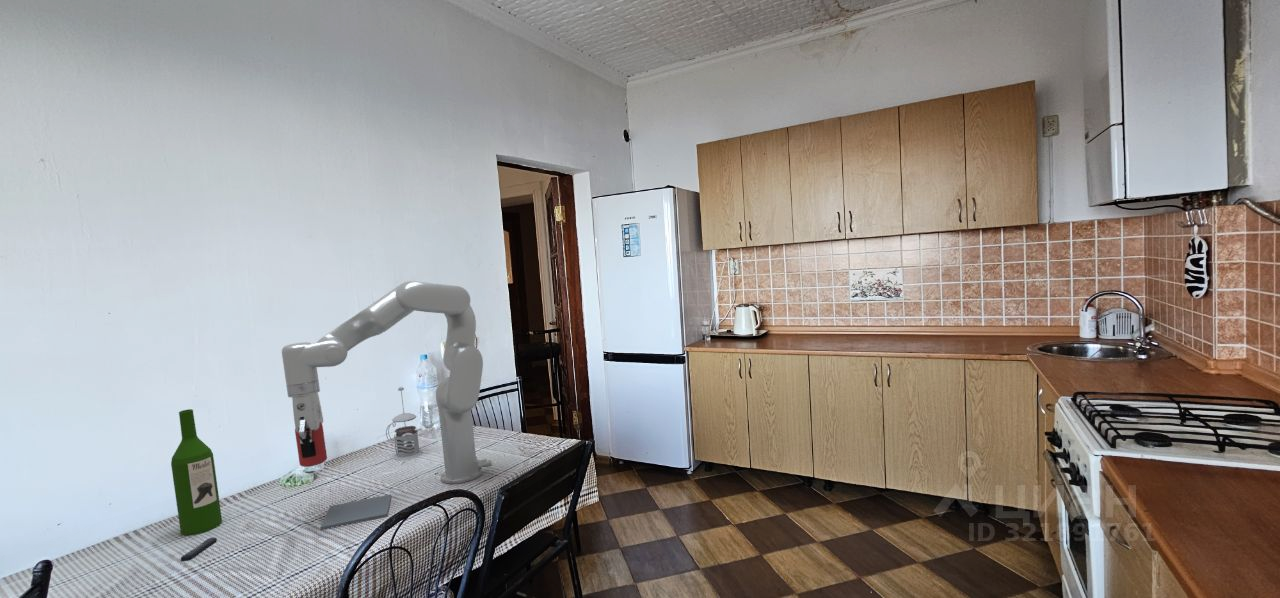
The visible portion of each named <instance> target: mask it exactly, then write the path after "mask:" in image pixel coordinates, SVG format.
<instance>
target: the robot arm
mask: <svg viewBox="0 0 1280 598" xmlns="http://www.w3.org/2000/svg"><path fill="white" fill-rule="evenodd" d="M415 311H416V312H424V313H435V314H444V317H445V318H446V323H447V328H446V329H447V331H446V339H445V345H444V346H445V347H444V351H443V357H442V358H443V359H442V361H443V365H444V366H445V368H446V369H447V370H449V376H447V377H445V378H443V379H441V381H440V382H439V383H438V385H437V386H436V390H435V399H436V404H437V405H436V406H437V410H438V415H439V423H440V435H441V445H442V456H443V462H444V464H443V465H444V471H443V472H442V473H441V474H440V481H441V482H442V483H445V484H462V483H467V482H469V481H473V480H475V479H477V478H479V477H480V476H481V475H482V474H483V468H485V467H486V468H487V467H492V466H493V465H492V459H489V460H488V459H487V458H484V459H478V457H477V455H476V444H475V435H474V433H475V432H474V425H473V424H474V422H473V416H472V409H473V408H474V407H475V406H476V405H477V403H478V400H479V397H480V396H479V395H480V390H481V385H482V384H481V383H482V376H483V370H484V369H483V368H484V359H483V355H482V353H481V351H480V350H479V349H478V348H477V347H475V343H476V342H475V341H476V329H477V320H476V315H475V312H474V310H473V308H472V306H471V296H470V293H469V292H468V291H467V290H466V288H464V287H461V286H459V285H452V284H439V283H430V282H424V281H416V280H413V281H412V280H409V281H405V282H402V283H400V284H399V285H397V286H396V287H395V288H393V289H391V290H390V291H389V292H387V293H385V294H384V295H382V296H381V297H380V298H379V299H377V300H375V301H374V302H373V303H371V304H370V305H368V306H367V307H366V308H364V309H362V310H361V311H359V312H358V313H356V314H355V315H354V316H352V317H351V318H349V319H347V320H346V321H344V322H343V323H341V324H339V325H338V326H337V327H335V328H333V329H332V330H331V331H329V332H328V333H326V334H325V335H324V336H322V337H321V338H320V339H318V340H317V341H316V342H313V343H311V342H306V341H305V342H296V343H289V344H287V345H285V346H283V348H281V357H282V363H283V371H284V379H285V385H286V391H287V397H288V398H292V399H291V400H292V411H293V412H292V413H293V421H294V426H295V428H296V432H297V433H299V435H300V445H301V452H302V457H303V458H307V457H313V456H315V455H316V449H315V442H314V441H313V431H312V430H314V431H316V430H317V429H318V428H319V424H320V422H321V423H322V424H324V417H323V411H322V410H323V409H322V406H321V400H320V396H319V392H321V387H320V383H319V382H320V381H319V374H318V368H329V367H330V368H331V367H336V366H339V365H341V364H342V363H344V362H345V361H346V359H347V357H348V354H349V353H348V352H349V351H351V349H353V348H355V347H356V346H357V345H359V344H360V343H362V342H364V341H365V340H368V339H371V338H372V337H376V336H379V335H382V334H383V333H385V332H387V331H388V330H389V329H391V328H392V327H394V326H395V325H396V324H397V323H399V322H400V321H402V320H403V319H405V318H406V317H407V316H409V315H410V314H412V313H413V312H415ZM299 427H300V428H299ZM295 428H294V429H295ZM306 428H310V430H308V431H306ZM298 429H299V430H298ZM307 433H309V435H308V434H307Z"/></svg>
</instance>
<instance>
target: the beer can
mask: <svg viewBox="0 0 1280 598" xmlns="http://www.w3.org/2000/svg"><path fill="white" fill-rule="evenodd" d="M299 428H300V427H299ZM298 430H299V429H298ZM308 430H310V428H306V431H308ZM294 431H295V432H294V433H295V440H296V442H295V443H296V446H297V454H298V461H299V462H298V463H299V466H301V467H304V468H305V467H306V468H310V467H315V466H318V465H321V464H323V463H324V462H326V460H327V459H328V456H327V455H328V454H327V448H326V440H325V433H324V426H323V423H321V422H320V424H319V428H318V429H317V430H316V431H314V430H312V431H313V441H314V442H315V449H316V455H315V456H313V457H307V458H303V457H302V452H301V445H300V435H299V433H297V432H296V428H294ZM307 434H308V435H309V433H307Z"/></svg>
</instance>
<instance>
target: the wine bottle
mask: <svg viewBox="0 0 1280 598" xmlns="http://www.w3.org/2000/svg"><path fill="white" fill-rule="evenodd" d="M178 416H179V422H180V423H179V425H180V434H181V441H180V443H179V444H178V446H177V448H176V450H175V452H174V454H173V455H172V457H171V461H170V462H171V463H170V465H171V472H172V473H171V474H172V479H173V487H174V495H175V499H176V500H175V501H176V508H177V516H178V523H179V531H180V533H181V534H182V535H184V536H193V535H199V534H203V533H205V532H209V531H211V530H213V529H216V528H217V527H219V526H220V525H221V524H222V522H223V519H222V512H221V511H222V510H221V503H220V495H219V489H218V482H217V481H218V480H217V474H216V466H215V458H214V453H213V451H212V449H211V448H210V446H208V445H207V444H205V443H204V442H203V441H202V440H201V439H200V438H199V437H198V435H197V428H196V422H195V416H194V409H190V408H188V409H183V410H180V411H179V412H178Z"/></svg>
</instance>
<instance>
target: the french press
mask: <svg viewBox="0 0 1280 598" xmlns="http://www.w3.org/2000/svg"><path fill="white" fill-rule="evenodd" d="M404 390H405V388H404V386H400V387H398V389H397V391H398V392H399V391H400V394H401V397H403V393H402V392H403V391H404ZM401 403H402V406H404V400H403V398H401ZM402 411H403V412H402V413H399V414H397V415H395V416H394V417H393V418H392V419H391V421H392V422H391V423H389V424H388V425H387V427H386V430H385V436H386V439H387V440H388V441H389V442H390V443H391V444H394V446H395V447H394V449H395V456H393V460H394V461H407V460H412V459H416V458H419V457H420V456H422V455H423V454H424V453H423V451H421V450H420V444H419V435H418V434H419V433H418V430H417V426H416V425H409V426H407V425H404V426H402V427H401V426H400V427H398V428H396V429H395V430H394V433H395V434H394V435H393V436H394V439H393V438H391V435H390V427H391V425H392V427H393V428H394V427H396V423H404V424H406V422H409V421H413V420H415V419H416V418H417V415H416V414H414V413H411V412H410V413H409V412H405V408H404V407H402ZM388 437H389V438H390V439H389V438H388ZM391 440H392V441H391Z"/></svg>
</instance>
